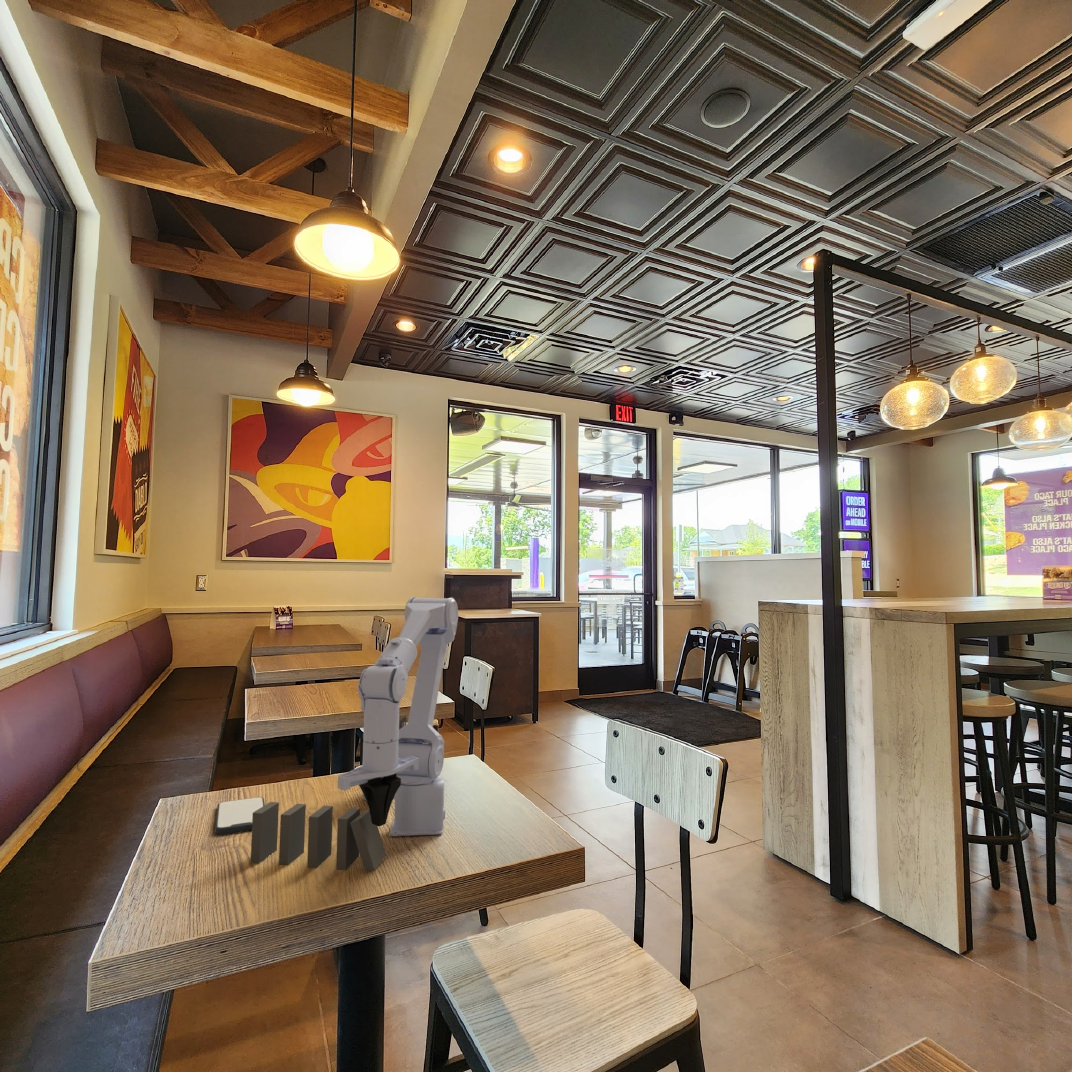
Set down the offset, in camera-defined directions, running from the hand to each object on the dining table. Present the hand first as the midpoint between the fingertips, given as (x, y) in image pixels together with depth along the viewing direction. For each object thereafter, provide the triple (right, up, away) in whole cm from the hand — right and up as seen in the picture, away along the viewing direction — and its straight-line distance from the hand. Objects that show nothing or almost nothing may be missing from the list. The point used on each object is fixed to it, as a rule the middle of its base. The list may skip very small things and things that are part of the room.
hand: (378, 823), depth 98 cm
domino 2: (-10, -7, +1) cm, 12 cm away
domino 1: (-15, -7, +2) cm, 17 cm away
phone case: (-32, -9, +19) cm, 38 cm away
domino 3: (-5, -7, 0) cm, 8 cm away
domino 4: (0, -6, 0) cm, 6 cm away
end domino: (-20, -7, +3) cm, 21 cm away
